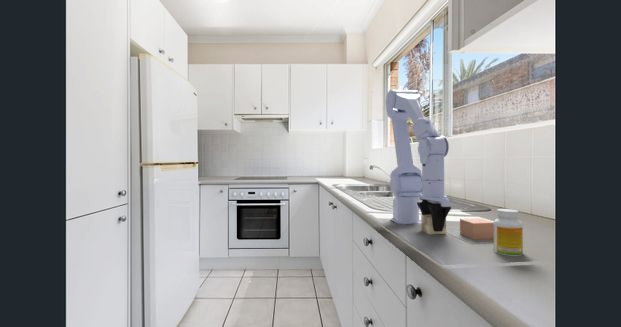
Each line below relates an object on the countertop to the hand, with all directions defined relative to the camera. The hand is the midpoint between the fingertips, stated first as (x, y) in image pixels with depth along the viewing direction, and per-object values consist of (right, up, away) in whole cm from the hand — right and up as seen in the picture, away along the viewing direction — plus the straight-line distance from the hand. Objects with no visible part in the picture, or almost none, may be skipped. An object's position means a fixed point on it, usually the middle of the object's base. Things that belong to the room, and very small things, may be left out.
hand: (433, 229), depth 88 cm
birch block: (0, -1, 0) cm, 1 cm away
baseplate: (+9, -1, -5) cm, 11 cm away
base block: (+9, -1, -5) cm, 11 cm away
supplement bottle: (+9, -2, -19) cm, 21 cm away
